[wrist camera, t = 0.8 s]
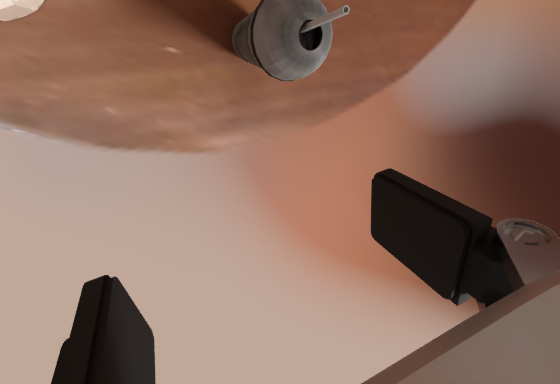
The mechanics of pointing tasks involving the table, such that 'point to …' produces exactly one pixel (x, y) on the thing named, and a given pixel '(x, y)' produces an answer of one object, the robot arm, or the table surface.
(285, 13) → the beverage cup
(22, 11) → the bowl
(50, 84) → the table surface
